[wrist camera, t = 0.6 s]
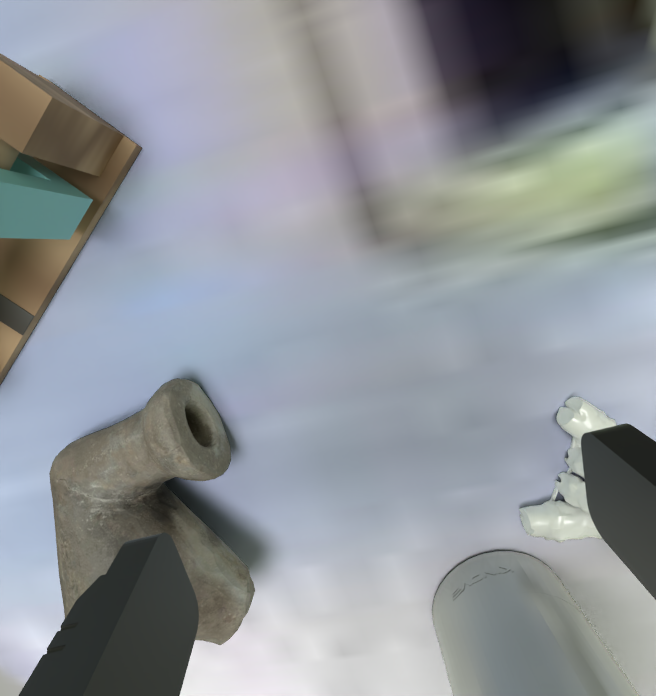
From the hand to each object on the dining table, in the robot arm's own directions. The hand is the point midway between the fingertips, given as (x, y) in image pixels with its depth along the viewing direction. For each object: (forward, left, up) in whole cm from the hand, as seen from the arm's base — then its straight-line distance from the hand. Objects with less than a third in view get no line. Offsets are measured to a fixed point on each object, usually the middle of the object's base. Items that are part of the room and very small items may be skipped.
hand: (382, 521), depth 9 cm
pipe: (-5, +16, -21) cm, 27 cm away
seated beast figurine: (-16, -10, -21) cm, 28 cm away
